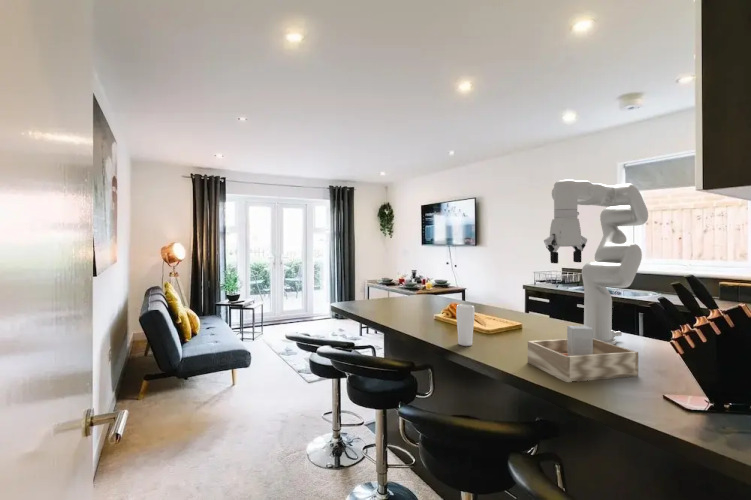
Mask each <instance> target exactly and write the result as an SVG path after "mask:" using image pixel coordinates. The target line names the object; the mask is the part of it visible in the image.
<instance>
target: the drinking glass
mask: <svg viewBox="0 0 751 500" xmlns="http://www.w3.org/2000/svg"><path fill="white" fill-rule="evenodd" d="M455 313H456V314H455V316H456V317H455V318H456V328H457V343H458V344H459V345H460V346H462V347H469V346H470V347H471V346H472V345H473V338H474V337H473V335H474V326H475V325H474V324H475V306H474V305H472V304H465V303H464V304H462V303H461V304H457V305H456V312H455Z"/></svg>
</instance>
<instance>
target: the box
mask: <svg viewBox="0 0 751 500" xmlns="http://www.w3.org/2000/svg"><path fill="white" fill-rule="evenodd" d="M527 364H530V365H531V366H533V367H536V368H538V369H539V370H541V371H544V372H545V373H547V374H549V375H551V376H553V377H555V378H557V379H559V380H561V381H563V382H565V383H573V382H572V381H577V382H586V381H587V380H588V381H598V380H599V381H601V380H609V379H623V378H633V377H639V351H635V350H632V349H628V348H625V347H623V346H619V345H616V344H610V343H607V342H603V341H600V340H597V339H594V338H593V354H591V355H576V356H567V338H564V339H563V338H560V339H559V338H558V339H544V340H543V339H542V340H528V341H527Z"/></svg>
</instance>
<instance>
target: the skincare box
mask: <svg viewBox="0 0 751 500" xmlns="http://www.w3.org/2000/svg"><path fill="white" fill-rule="evenodd" d="M566 327H567V329H566V331H567V333H566V336H567V337H566V339H567V356H576V355H591V354H593V329H592V328H590V327H587V326H584V325H567V326H566Z"/></svg>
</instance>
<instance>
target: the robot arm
mask: <svg viewBox="0 0 751 500" xmlns="http://www.w3.org/2000/svg"><path fill="white" fill-rule="evenodd" d="M551 198H552V199H553V219H552V220H551V223H550V228H549V236H547V238H545V239H544V240H543V242H544V245H545V247H546V249H547V250H548V252H549V253H550V254H549V255H550V256H549V257H550V258H549V261H550V263H551V264H559V252H558V250H559V249H560V248H561V247H572V248H573V254H572V255H573V257H572V258H573V263H582V252H583V251H584V249H585V247H586V244H587V242H588V238H587V237H584V236H583V235H582V232H581V231H582V230H581V225H580V223H581V222H580V219H579V218H578V216H579V215H580V212H579V211H578V206H597V207H598V206H599V207H605V208H603V210H601V212H600V215H599V217H600V219H599V220H600V225H601V230H602V235H603V236H602V239H601V241H600V243H599V245H598V246H597V248H596V250H595V253H594V260H595V261H592V262H591V261H590V262H588V263H585V264H584V265H583V266H582V269H581V279H582V283H583V291H584V293H583V297H584V298H583V299H584V300H583V301H584V302H583V304H584V305H583V308H584V309H583V311H584V312H583V326H587V327H590V328H592V329H593V338H594V339H597V340H600V341H603V342H607V343H610V344H613V345H616V344H617V340H616V339H615V337H621V336H622V332H621V331H620V330H618V331H614V330H613V329H612V327H613V326H612V325H613V323H612V319H613V316H612V315H613V309H612V308H613V299H612V295H611V292H610V291H609V290H608V288H618V289H620V288H623V289H625V288H628V287H630V286H631V285H632V284H633V281H634V279H635V277H636V275H637V272H638V270H639V268H640V265H641V263H642V259H643V258H642V256H643V254H642V253H643V252H642V249H641V248H640V246H639V245H638V244H636V243H633V242H632V243H631V242H627V236H626V234H625V233H624V232H623V231H622V230H621V229H619V227H633V226H642V225H644V224H646V223H647V222H648V219H649V212H648V207H647V206H646V204H645V201H644V199H643V197H642V194H641V192H640V190H639V189H638V188H637V186H636V185H634V184H632V183H624V184H623V183H622V184H615V185H607V184H603V183H592V182H591V181H589V180H575V179H563V180H562V179H561V180H557V181H555V183H554V184H553V188H552V189H551ZM607 287H608V288H607Z"/></svg>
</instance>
